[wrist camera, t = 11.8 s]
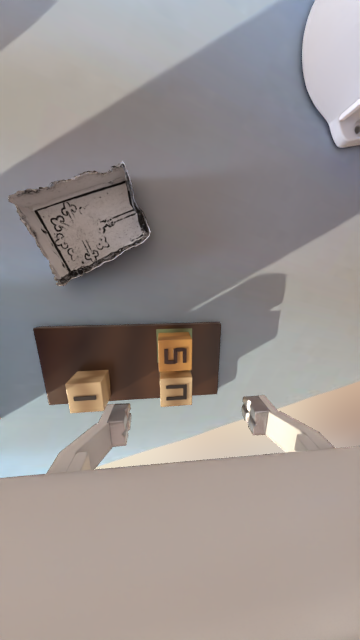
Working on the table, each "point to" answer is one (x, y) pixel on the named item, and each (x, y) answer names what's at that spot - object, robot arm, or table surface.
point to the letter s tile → (174, 351)
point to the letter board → (123, 364)
